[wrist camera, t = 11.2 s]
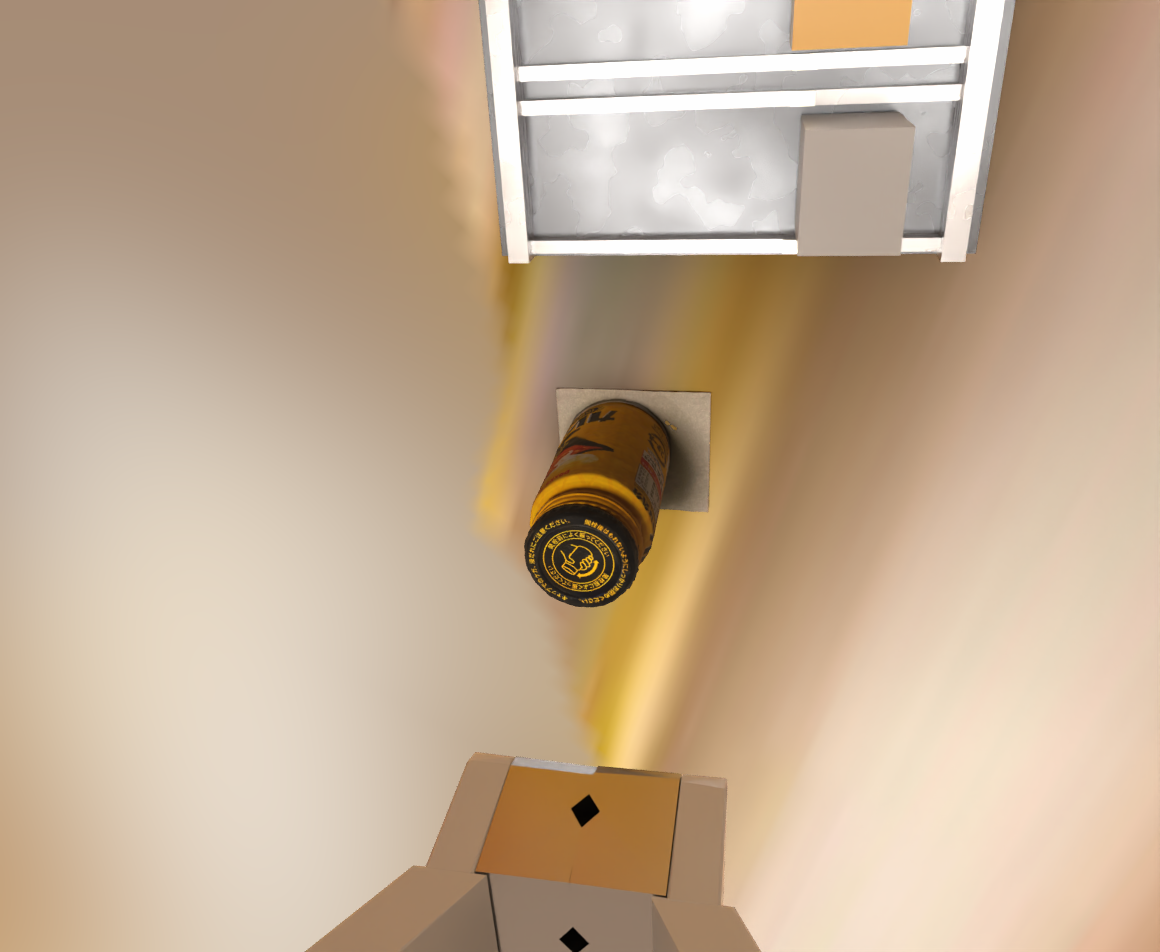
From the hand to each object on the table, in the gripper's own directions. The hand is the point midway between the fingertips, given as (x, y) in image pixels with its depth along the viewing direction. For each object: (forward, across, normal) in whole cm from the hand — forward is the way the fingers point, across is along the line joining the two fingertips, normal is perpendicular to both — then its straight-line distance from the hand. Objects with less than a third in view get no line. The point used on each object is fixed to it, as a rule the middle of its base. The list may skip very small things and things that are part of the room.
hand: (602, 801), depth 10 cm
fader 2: (+35, -5, -1) cm, 35 cm away
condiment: (+37, +5, +14) cm, 40 cm away
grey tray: (+37, 0, -5) cm, 37 cm away
